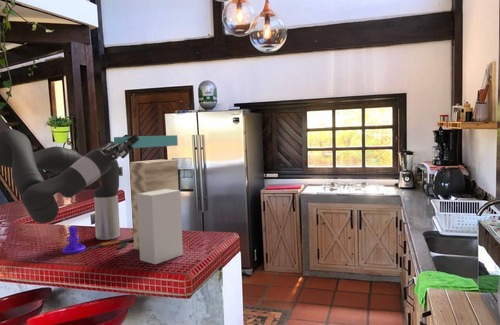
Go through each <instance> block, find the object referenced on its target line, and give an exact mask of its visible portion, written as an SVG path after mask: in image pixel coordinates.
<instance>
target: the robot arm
mask: <svg viewBox="0 0 500 325" xmlns="http://www.w3.org/2000/svg"><path fill="white" fill-rule="evenodd" d="M122 137H130V138H128V139H127V140H125V141H124V142H122V143H117V144H116V145H115V144H114V140H112V141H109V142H107V143H105V144H104V145H102V146H100V147H99V148H94V149H91V150H90V151H89V152H87V153H86V154H85V155H81V154H80V153H78V152H77V151H76V150H73V149H70V148H66V147H62V146H57V145H56V146H50V147H47V148H42V149H39V150H36V151H34V150H33V147H32V142H31V141H30V139H29V138H28V136H27V135H25V134H24V133H22V132H21V131H19V130H17V129H14V128H4V129H2V130H1V131H0V167H4V168H9V169H11V179H12V182H13V184H14V186H15V189H16V191H17V192H18V194H19V195H20V196H21V202H22V204H23V206H24V207H25V210H26V211H27V212H28V215H29V216H30V218H31V219H32V220H33V221H34V222H36V223H38V224H47V223H50V222H53V221H54V220H55V219H56V218H57V216H58V214H59V210H60V209H59V208H60V207H59V204H58V202H57V201H56V198H55V196H54V195H56V194H58V193H59V194H60V195H62V197H64V198H67V199H68V198H69V199H70V198H73V197H74V196H76V195H77V194H79V193H80V192H81V191H82V190H84V189H85V188H86V187H88V186H89V185H91V184H93V183H94V182H95V181H97V180H102V181H101V182H102V185H101V186H100V187H98V188H95V189H94V190H93V200H94V231H95V238H96V240H101V241H102V240H105V241H107V240H113V239H118V238H119V237H120V236H121V230H120V227H121V226H120V223H121V222H120V208H119V188H120V166H119V162H118V159H119V157H120V158H121V159H125V158H126V157H127V156H128V155H129V153H131V152H132V150H133V149H134V148H133V146H132V145H133V144H134V143H136V142H137V141H138V140H139V138H138V134H132V135H131V136H129V134H124V135H123V136H122ZM118 146H119V148H120V149H119V148H118ZM40 171H46V172H51V173H55V174H56V173H57V174H58V175H56V176H53V177H51V178H48V179H44V177H43V176H42V174H41V172H40Z"/></svg>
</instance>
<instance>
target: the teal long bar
mask: <svg viewBox="0 0 500 325" xmlns="http://www.w3.org/2000/svg"><path fill="white" fill-rule="evenodd" d="M137 136H138V135H137ZM130 137H131V136H129V137H123V136H114V137H113V142H114V144H115V145H116V144H117V143H122V142H124V141H125V140H127V139H128V138H130ZM138 138H139V140H138V141H137V142H136V143H134V144H133V145H132V146H133V149H139V148H155V147H156V148H158V147H172V146H174V147H175V146H178V145H179V144H178V135H176V134H175V135H170V134H169V135H147V136H146V135H143V136H138ZM118 148H119V146H118ZM119 149H120V148H119Z"/></svg>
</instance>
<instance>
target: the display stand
mask: <svg viewBox="0 0 500 325" xmlns="http://www.w3.org/2000/svg"><path fill="white" fill-rule="evenodd" d="M178 168H179V165H178V159H151V160H149V159H148V160H141V161H139V160H138V161H130V162H129V175H130V178H129V179H130V194H131V195H130V196H131V198H130V199H131V213H132V214H131V216H132V235H133V237H132V238H134V242H133V249H134V250H138V251H139V231H138V212H137V194H138V193H144V192H150V191H155V190H161V189H171V190H180V189H179V169H178Z"/></svg>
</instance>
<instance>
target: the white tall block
mask: <svg viewBox="0 0 500 325" xmlns="http://www.w3.org/2000/svg"><path fill="white" fill-rule="evenodd" d="M181 197H182V196H181V190H180V189H179V190H171V189H161V190H155V191H150V192H144V193H138V194H137V212H138V231H139V250H138V251H139V260H140V261H142V262H145V263H149V264H153V265H158V264H161V263H163V262H166V261H170V260H171V259H175V258H177V257H180V256H184V246H183V244H184V243H183V225H182V224H183V223H182V222H183V221H182V200H181Z"/></svg>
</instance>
